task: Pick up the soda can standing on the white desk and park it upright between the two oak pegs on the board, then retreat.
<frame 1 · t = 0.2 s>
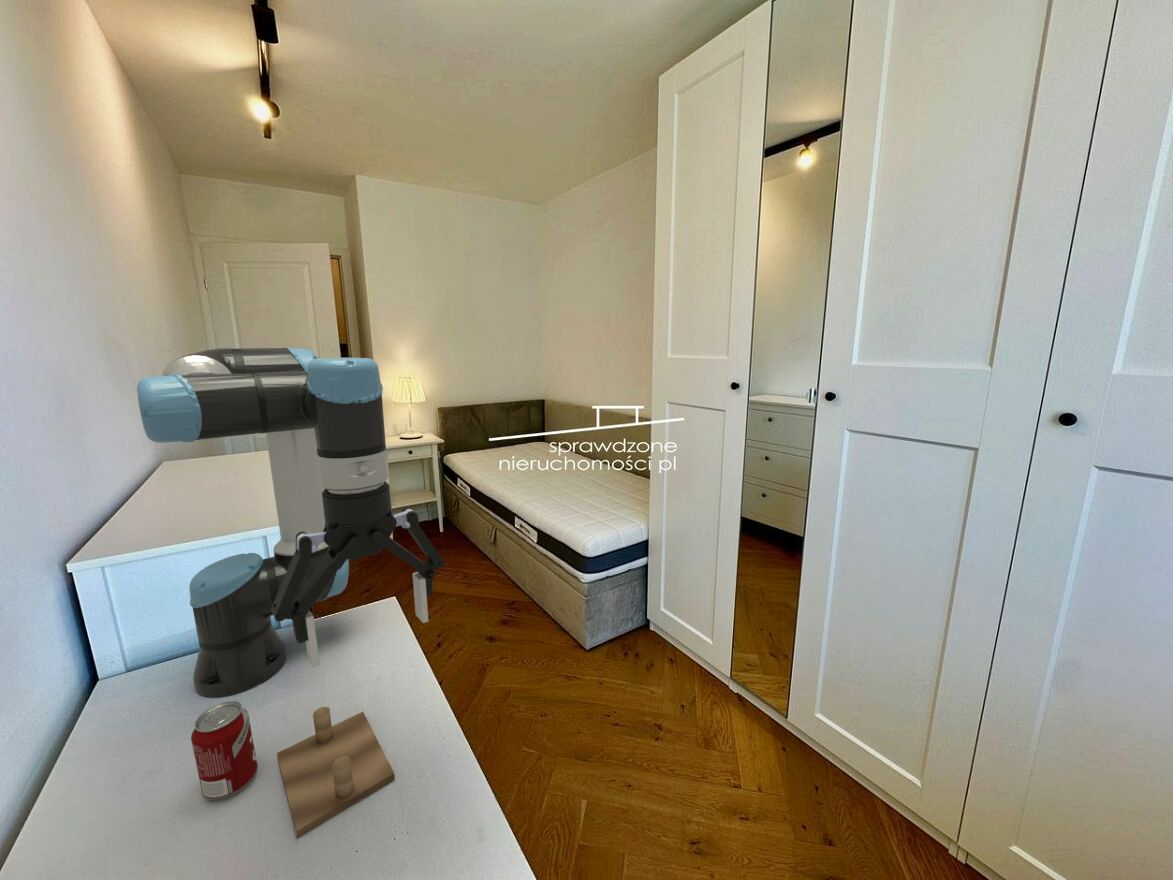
hand: (371, 638, 61), 28 cm above the table, fingers open, 13 cm apart
pegboard: (335, 769, 72), on the table
soda can: (231, 783, 70), on the table
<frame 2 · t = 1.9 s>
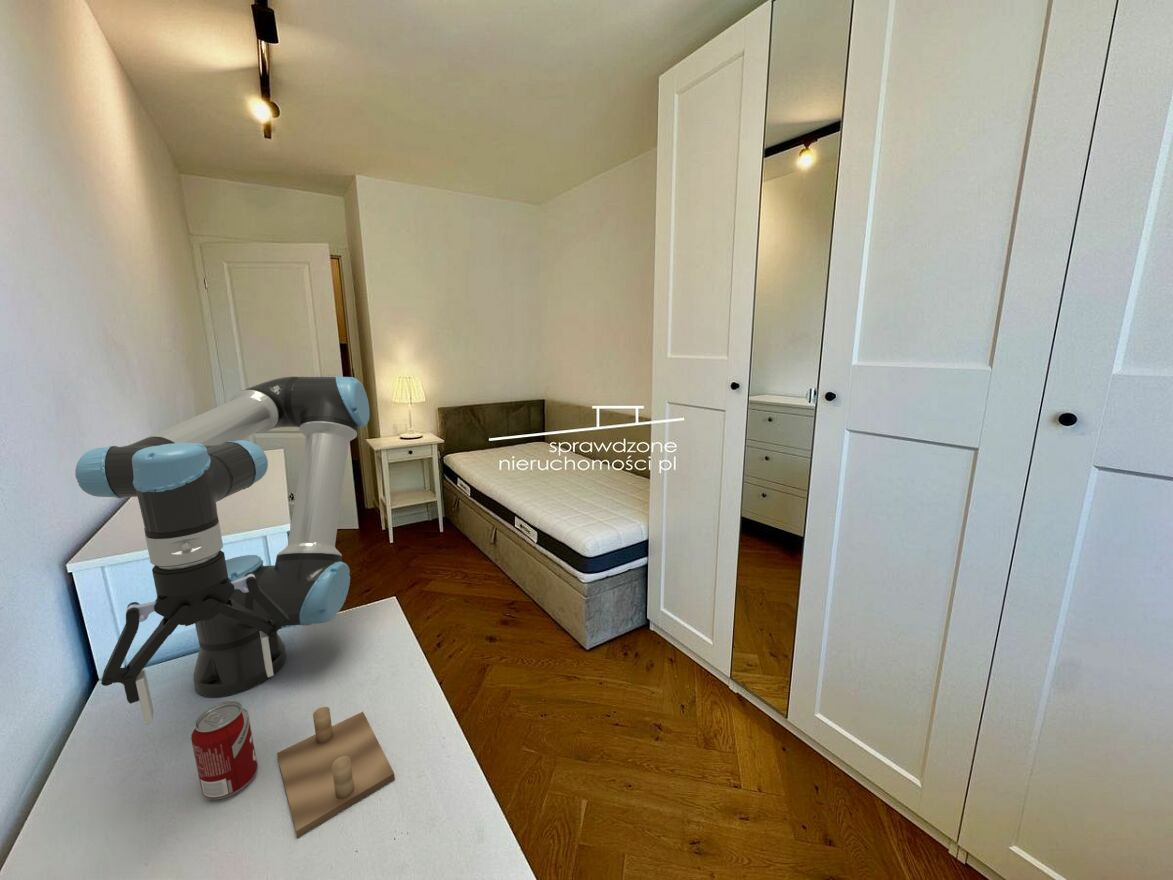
hand: (213, 693, 67), 16 cm above the table, fingers open, 13 cm apart
nothing on the table moved.
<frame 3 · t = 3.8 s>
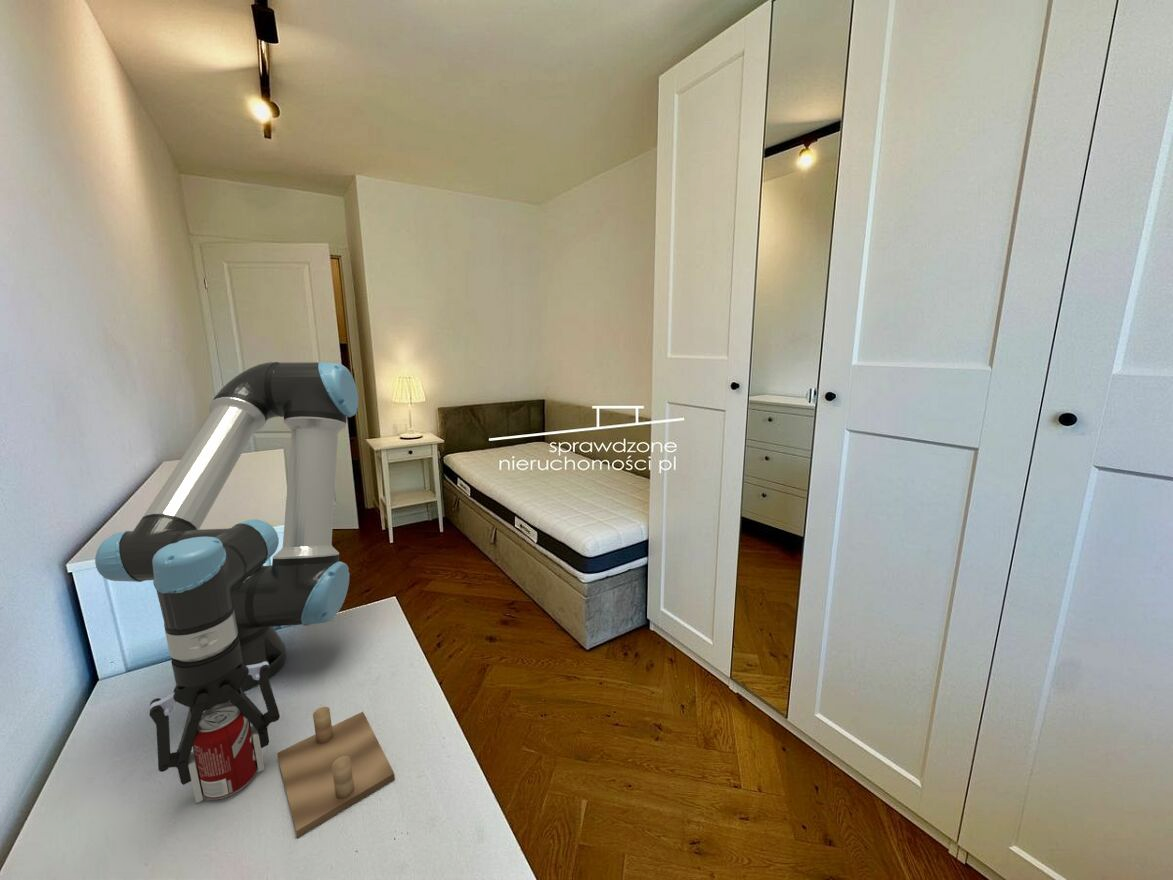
hand: (230, 779, 70), 1 cm above the table, fingers closed on soda can, 7 cm apart
soda can: (231, 783, 70), on the table, touching gripper
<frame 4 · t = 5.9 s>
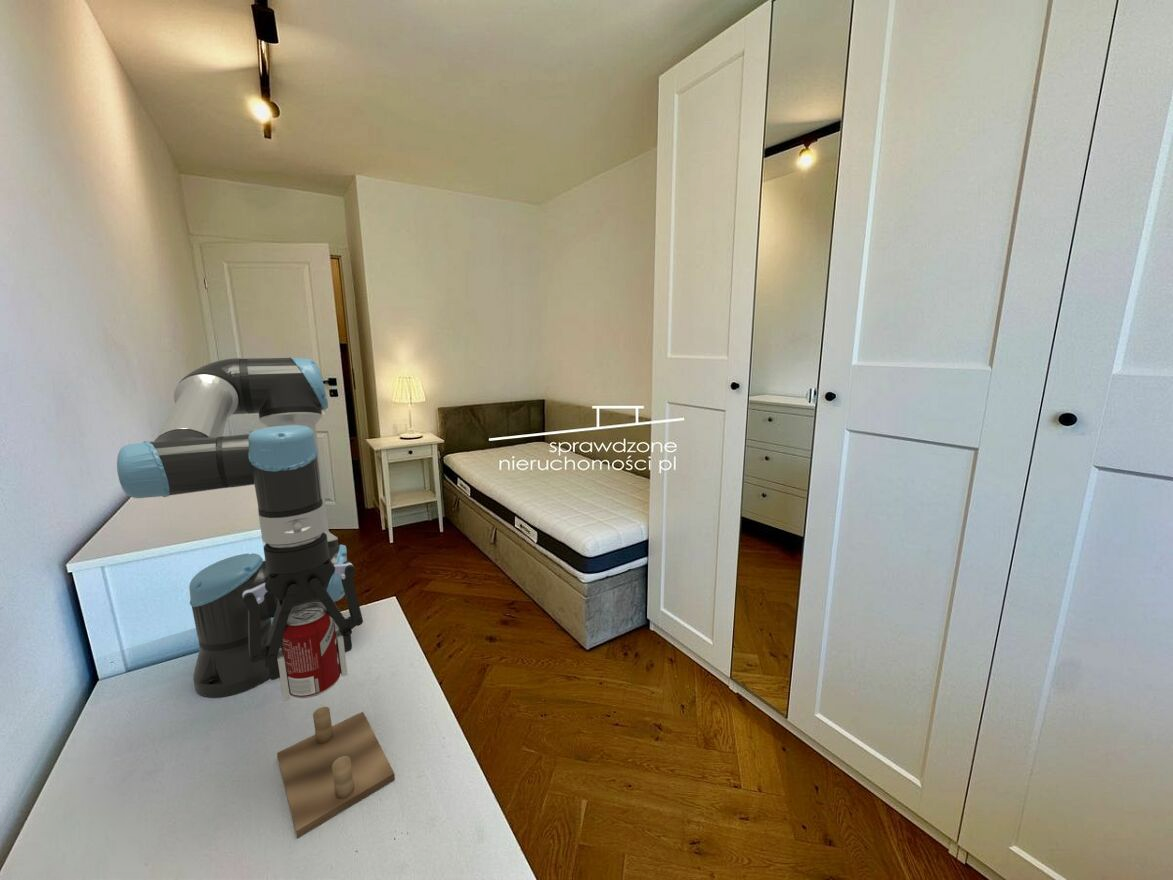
hand: (315, 681, 68), 16 cm above the table, fingers closed on soda can, 7 cm apart
soda can: (315, 686, 68), point 16 cm above the table, touching gripper
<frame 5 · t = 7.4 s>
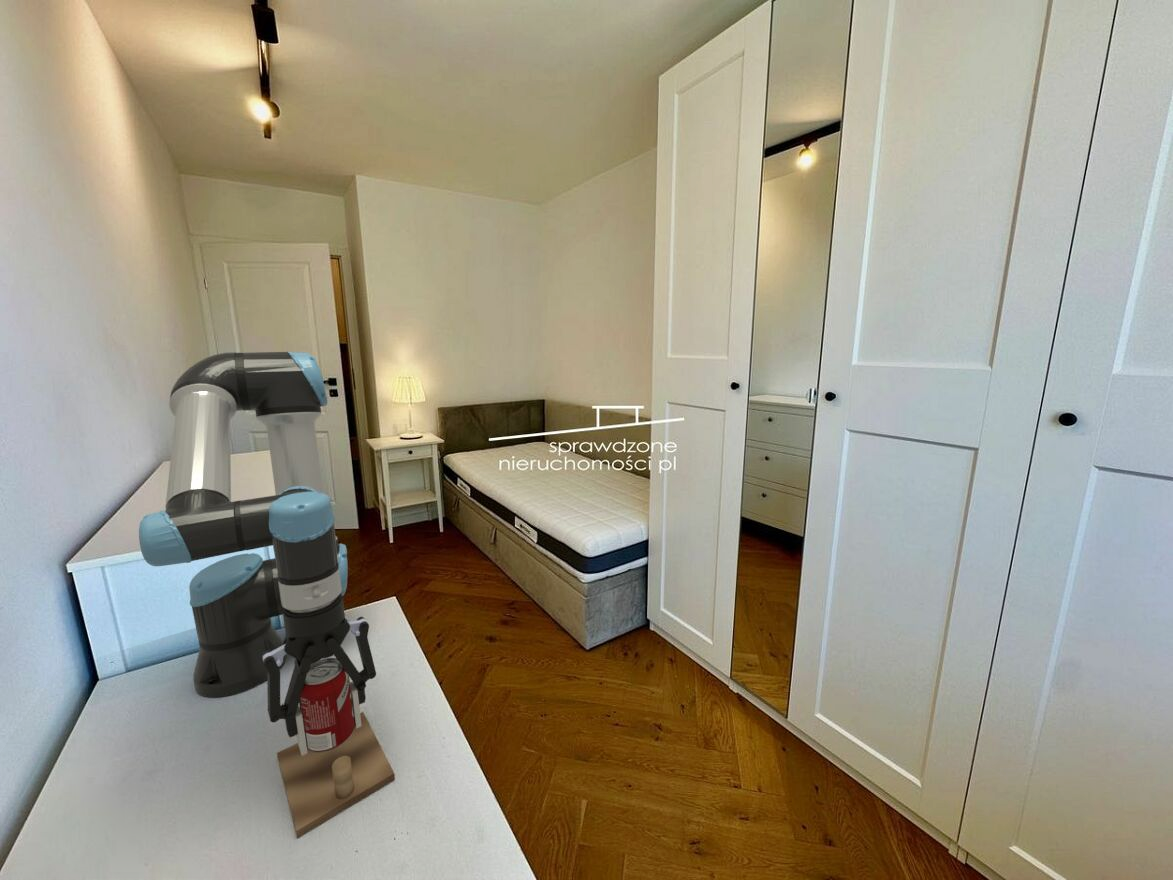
hand: (330, 734, 71), 7 cm above the table, fingers closed on soda can, 7 cm apart
soda can: (331, 739, 71), point 6 cm above the table, touching gripper
when the fingers open (3 cm above the table, at t = 8.3 s): soda can drops 2 cm, resting on pegboard.
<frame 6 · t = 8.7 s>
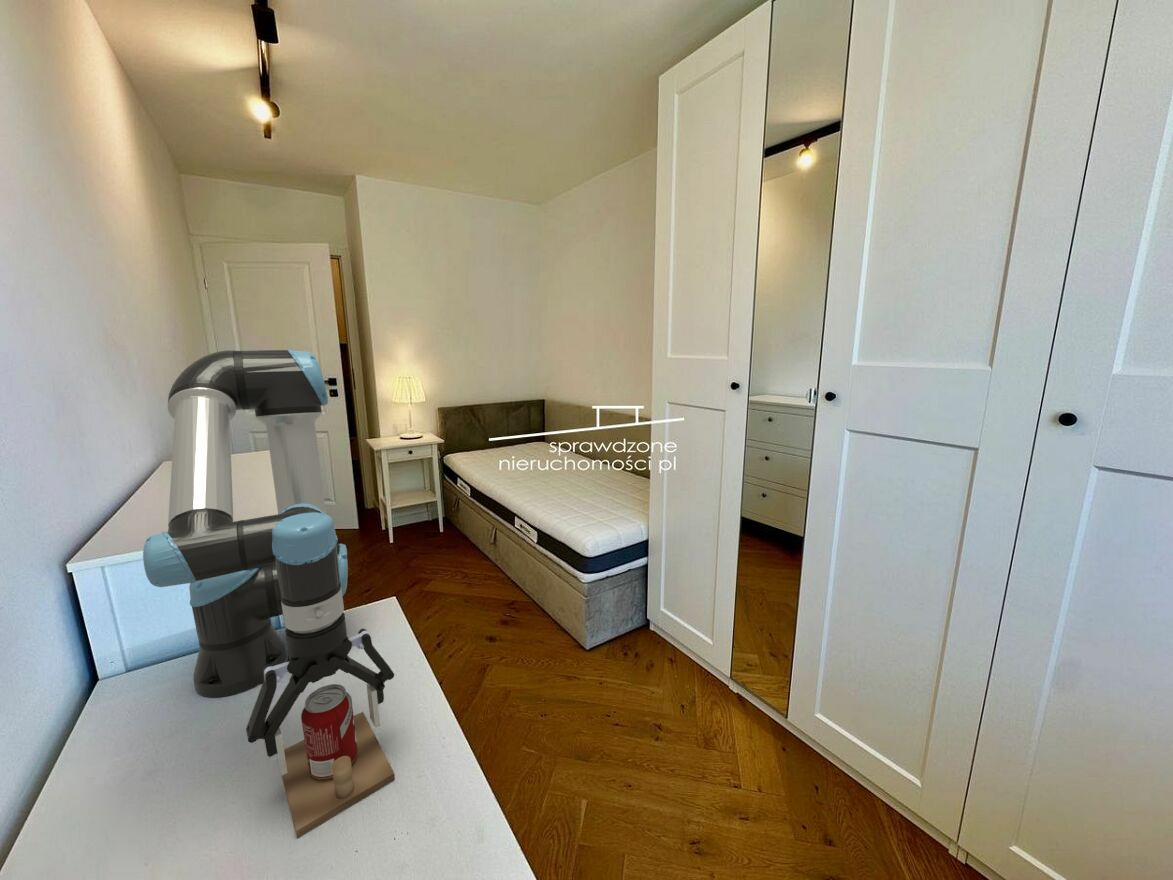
hand: (331, 743, 71), 5 cm above the table, fingers open, 12 cm apart
soda can: (334, 763, 72), point 1 cm above the table, touching pegboard
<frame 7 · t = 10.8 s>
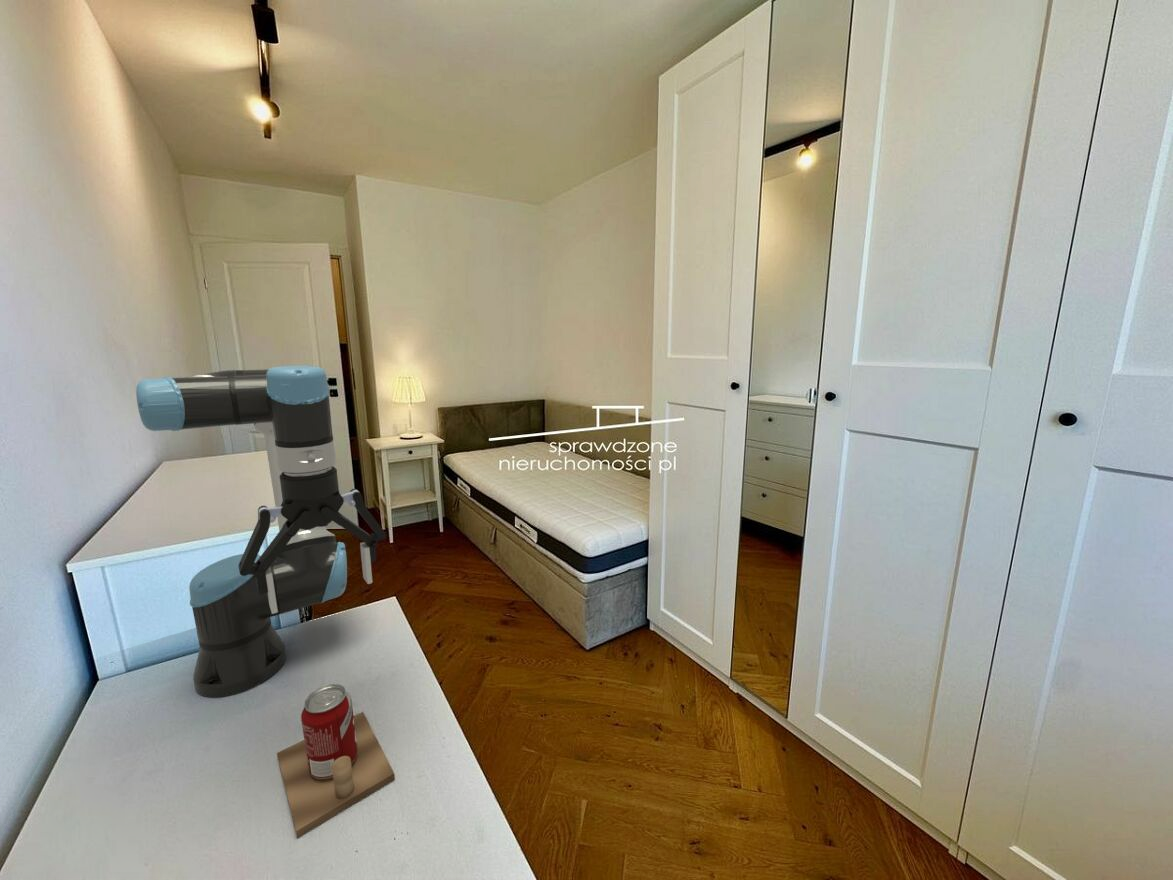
hand: (323, 594, 75), 26 cm above the table, fingers open, 13 cm apart
nothing on the table moved.
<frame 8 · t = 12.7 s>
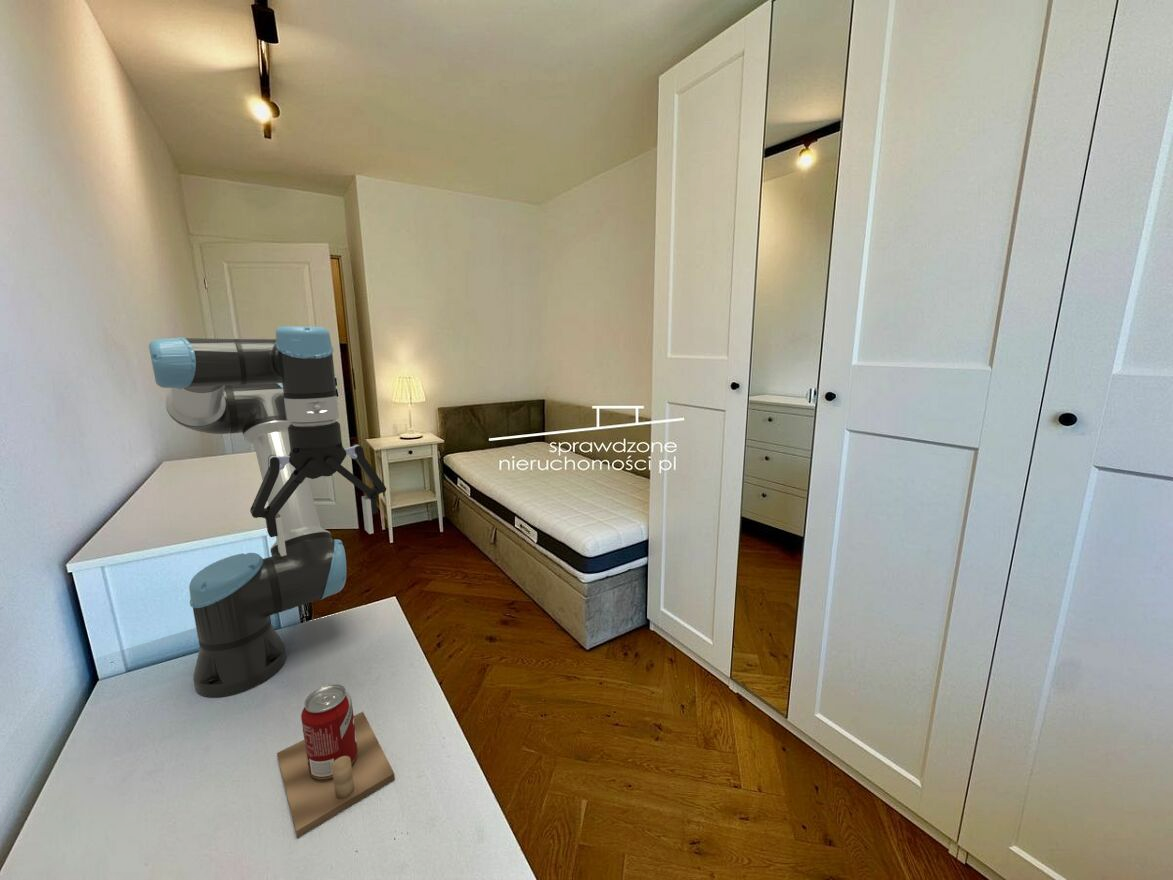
hand: (328, 541, 80), 32 cm above the table, fingers open, 13 cm apart
nothing on the table moved.
at the end: soda can inside the target area on the pegboard (0.0 cm from its centre), point 1.0 cm above the pegboard's base; soda can tilted 0°; the gripper is holding nothing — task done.
